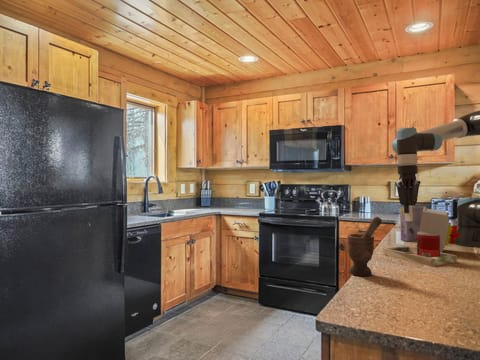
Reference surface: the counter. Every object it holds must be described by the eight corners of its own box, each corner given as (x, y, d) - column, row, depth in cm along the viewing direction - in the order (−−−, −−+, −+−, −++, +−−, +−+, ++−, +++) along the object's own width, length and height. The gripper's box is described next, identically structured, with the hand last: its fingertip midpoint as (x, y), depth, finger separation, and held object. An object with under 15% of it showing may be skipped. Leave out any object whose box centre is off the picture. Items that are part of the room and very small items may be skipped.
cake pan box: (420, 237, 194) (420, 205, 194) (429, 238, 190) (429, 206, 190) (399, 240, 184) (399, 207, 184) (408, 242, 180) (408, 207, 180)
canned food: (444, 262, 135) (444, 234, 135) (424, 262, 134) (424, 234, 134) (432, 258, 142) (432, 231, 142) (413, 258, 142) (413, 231, 142)
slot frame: (407, 251, 155) (407, 245, 155) (456, 261, 136) (456, 254, 136) (383, 254, 149) (383, 248, 149) (431, 266, 129) (431, 258, 129)
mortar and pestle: (386, 274, 118) (386, 215, 118) (380, 280, 111) (380, 217, 111) (351, 269, 125) (351, 213, 125) (344, 275, 117) (344, 215, 117)
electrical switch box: (454, 261, 145) (463, 214, 144) (415, 252, 153) (422, 207, 151) (455, 255, 158) (462, 211, 156) (418, 247, 165) (425, 205, 164)
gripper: (410, 165, 153) (411, 218, 153) (388, 165, 147) (390, 221, 148) (425, 164, 146) (427, 220, 146) (404, 164, 141) (405, 223, 141)
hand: (408, 220), depth 147 cm, fingers closed
